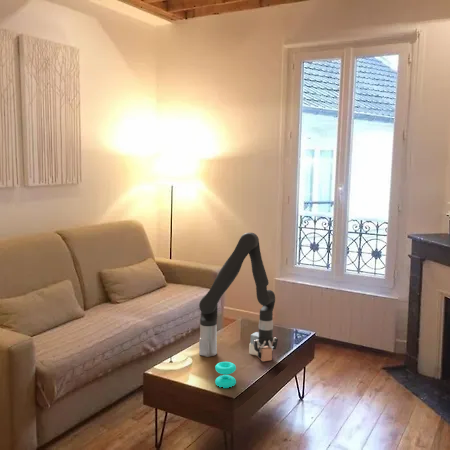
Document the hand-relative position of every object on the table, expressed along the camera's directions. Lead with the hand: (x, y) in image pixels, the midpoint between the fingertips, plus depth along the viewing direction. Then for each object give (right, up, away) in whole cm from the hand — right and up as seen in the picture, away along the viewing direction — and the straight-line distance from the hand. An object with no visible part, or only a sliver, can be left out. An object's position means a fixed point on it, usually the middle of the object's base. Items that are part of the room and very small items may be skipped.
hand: (265, 357), depth 265 cm
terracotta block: (0, -1, 0) cm, 1 cm away
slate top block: (-3, +6, +9) cm, 11 cm away
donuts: (-21, -5, -29) cm, 37 cm away
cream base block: (-3, 0, +10) cm, 11 cm away
